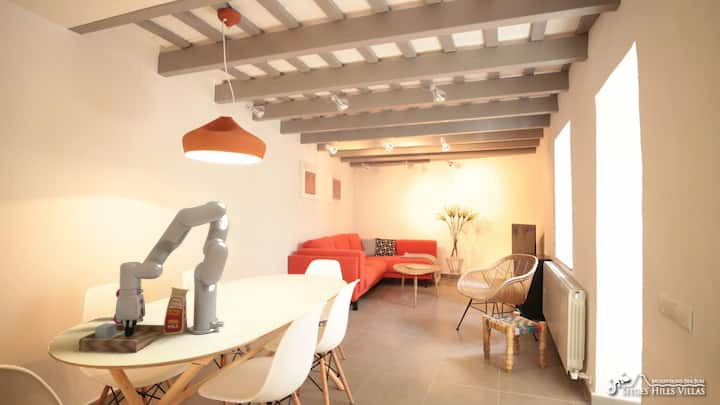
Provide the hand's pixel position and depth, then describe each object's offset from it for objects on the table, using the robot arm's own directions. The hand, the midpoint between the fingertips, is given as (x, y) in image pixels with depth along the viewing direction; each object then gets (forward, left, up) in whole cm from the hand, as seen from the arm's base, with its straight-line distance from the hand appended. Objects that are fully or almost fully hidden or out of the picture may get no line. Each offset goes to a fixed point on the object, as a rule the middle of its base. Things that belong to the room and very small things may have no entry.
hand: (129, 335), depth 142 cm
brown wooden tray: (+2, 0, -3) cm, 3 cm away
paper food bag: (-11, -15, -3) cm, 19 cm away
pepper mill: (+16, -17, -3) cm, 23 cm away
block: (+10, 0, -1) cm, 10 cm away
